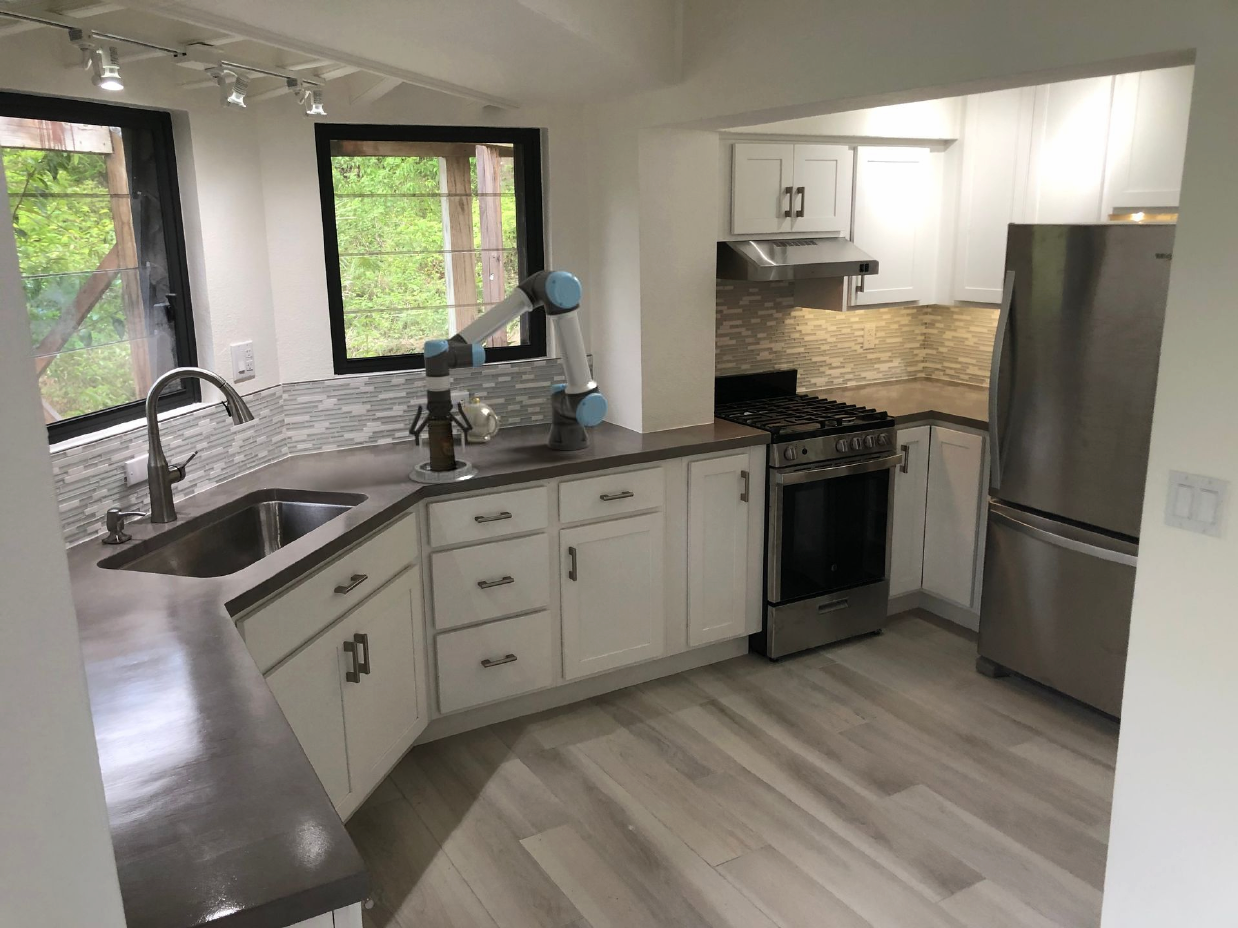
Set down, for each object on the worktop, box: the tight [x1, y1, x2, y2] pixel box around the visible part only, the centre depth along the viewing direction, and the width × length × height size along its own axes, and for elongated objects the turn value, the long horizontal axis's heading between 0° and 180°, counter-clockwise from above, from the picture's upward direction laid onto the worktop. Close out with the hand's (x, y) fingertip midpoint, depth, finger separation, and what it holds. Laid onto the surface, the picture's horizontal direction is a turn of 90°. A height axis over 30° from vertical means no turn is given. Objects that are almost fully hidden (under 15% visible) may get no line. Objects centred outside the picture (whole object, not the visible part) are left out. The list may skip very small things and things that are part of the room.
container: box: [426, 416, 458, 472], centre depth 314 cm, size 9×9×18 cm
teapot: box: [458, 397, 500, 444], centre depth 362 cm, size 18×14×16 cm
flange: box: [409, 458, 479, 485], centre depth 316 cm, size 22×22×3 cm
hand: (442, 453), depth 315 cm, fingers open, 13 cm apart
